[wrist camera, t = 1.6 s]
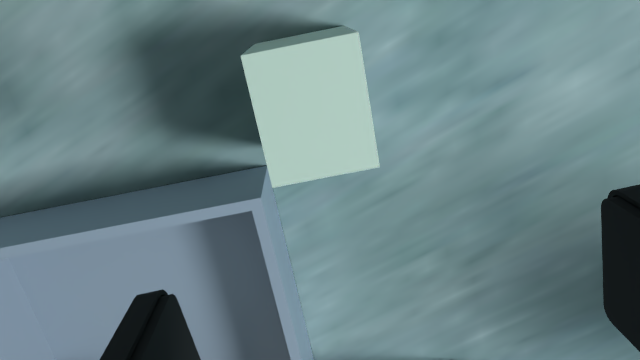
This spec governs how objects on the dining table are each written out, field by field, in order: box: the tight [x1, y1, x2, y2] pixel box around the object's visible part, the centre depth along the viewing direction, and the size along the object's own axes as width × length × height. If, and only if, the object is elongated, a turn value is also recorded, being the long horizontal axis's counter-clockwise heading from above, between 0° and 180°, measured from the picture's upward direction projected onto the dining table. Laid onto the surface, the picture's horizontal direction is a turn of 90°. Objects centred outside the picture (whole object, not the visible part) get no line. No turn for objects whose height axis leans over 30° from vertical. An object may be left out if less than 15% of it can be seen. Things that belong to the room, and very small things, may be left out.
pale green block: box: [241, 26, 380, 188], centre depth 24 cm, size 6×5×7 cm
